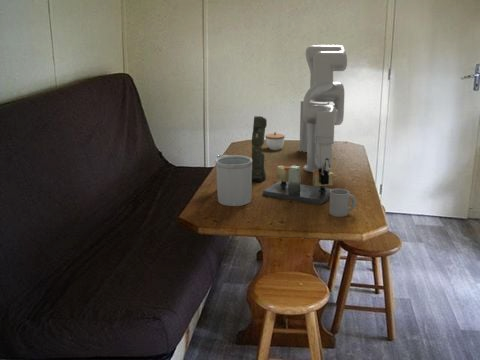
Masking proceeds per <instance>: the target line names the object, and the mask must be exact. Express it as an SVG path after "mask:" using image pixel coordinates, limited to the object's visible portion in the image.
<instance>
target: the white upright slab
mask: <svg viewBox="0 0 480 360" xmlns="http://www.w3.org/2000/svg"><path fill="white" fill-rule="evenodd" d="M303 101H304V99H301V100H300V111H299V112H300V113H299V114H300V117H299V119H300V121H299V152H301V151H303V152H302V153H305V152H307V142H308V125H307V123H306V122H305V121H304V118H303ZM313 105H330V102H314V101H312V100H310V106H313Z"/></svg>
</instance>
